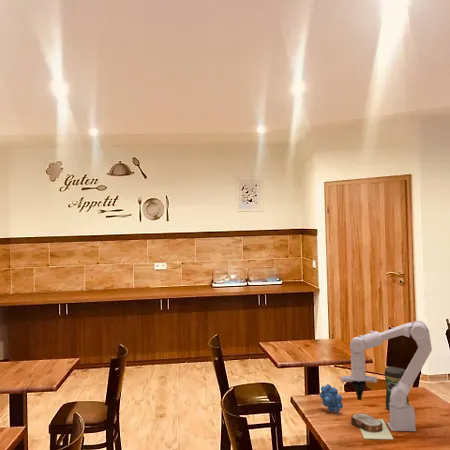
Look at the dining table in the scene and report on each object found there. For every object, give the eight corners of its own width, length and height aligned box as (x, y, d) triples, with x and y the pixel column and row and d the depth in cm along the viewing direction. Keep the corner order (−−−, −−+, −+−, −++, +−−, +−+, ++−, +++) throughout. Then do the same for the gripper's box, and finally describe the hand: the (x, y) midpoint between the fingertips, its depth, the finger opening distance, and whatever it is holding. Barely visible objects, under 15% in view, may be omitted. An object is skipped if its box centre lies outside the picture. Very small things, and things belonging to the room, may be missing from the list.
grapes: (315, 411, 220) (314, 384, 220) (323, 407, 224) (322, 381, 225) (337, 417, 212) (336, 389, 212) (345, 413, 216) (345, 386, 217)
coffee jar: (412, 409, 218) (410, 368, 219) (402, 414, 213) (401, 371, 214) (392, 404, 226) (391, 364, 226) (382, 408, 221) (381, 367, 221)
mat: (382, 419, 208) (382, 419, 208) (393, 439, 188) (393, 438, 188) (356, 419, 209) (356, 418, 209) (364, 439, 189) (364, 438, 189)
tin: (370, 433, 193) (387, 431, 196) (370, 425, 193) (387, 423, 196) (347, 420, 207) (363, 419, 210) (347, 413, 207) (363, 411, 210)
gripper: (374, 364, 209) (375, 396, 208) (339, 364, 210) (340, 395, 210) (377, 368, 202) (378, 401, 201) (341, 368, 203) (342, 401, 203)
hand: (359, 399), depth 205 cm, fingers closed
